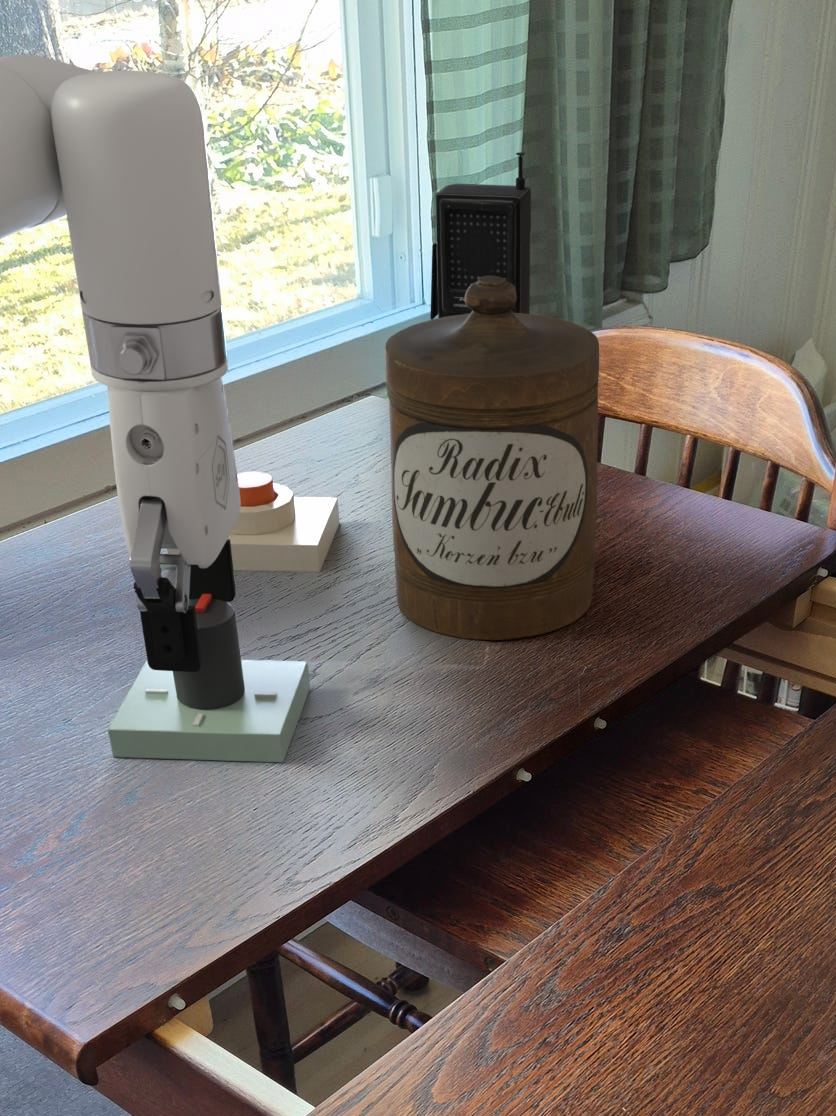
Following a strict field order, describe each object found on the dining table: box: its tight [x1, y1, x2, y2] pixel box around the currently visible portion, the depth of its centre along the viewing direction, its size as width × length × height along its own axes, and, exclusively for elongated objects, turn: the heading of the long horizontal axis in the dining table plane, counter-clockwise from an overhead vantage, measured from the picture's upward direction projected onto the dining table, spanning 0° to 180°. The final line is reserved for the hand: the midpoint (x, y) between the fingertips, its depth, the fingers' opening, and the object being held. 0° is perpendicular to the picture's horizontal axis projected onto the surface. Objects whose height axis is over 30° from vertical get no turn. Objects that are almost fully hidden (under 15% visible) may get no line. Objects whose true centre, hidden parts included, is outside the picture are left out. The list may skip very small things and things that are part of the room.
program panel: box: [107, 659, 311, 763], centre depth 94 cm, size 11×10×2 cm
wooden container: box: [384, 276, 600, 641], centre depth 101 cm, size 15×15×22 cm
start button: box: [237, 470, 275, 507], centre depth 113 cm, size 4×4×2 cm
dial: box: [173, 594, 245, 709], centre depth 91 cm, size 4×4×6 cm
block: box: [166, 482, 341, 573], centre depth 115 cm, size 12×10×4 cm
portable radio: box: [429, 151, 532, 320], centre depth 118 cm, size 8×6×25 cm
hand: (194, 632), depth 90 cm, fingers open, 9 cm apart
